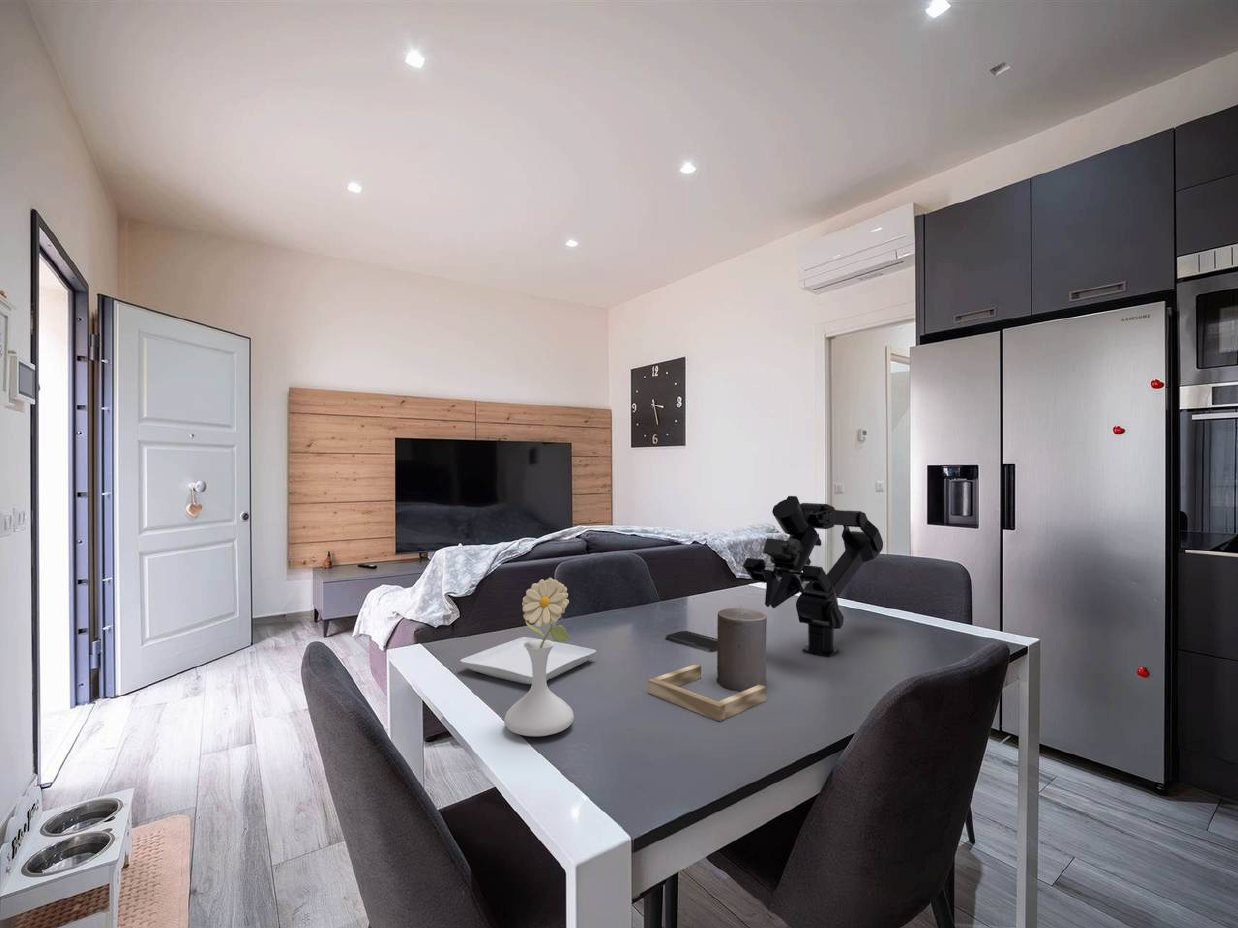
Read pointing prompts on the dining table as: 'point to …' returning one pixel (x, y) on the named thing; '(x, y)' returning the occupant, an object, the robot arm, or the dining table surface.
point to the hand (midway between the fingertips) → (769, 606)
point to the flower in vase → (541, 665)
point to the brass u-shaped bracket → (718, 711)
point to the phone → (694, 640)
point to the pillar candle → (741, 648)
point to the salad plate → (525, 660)
